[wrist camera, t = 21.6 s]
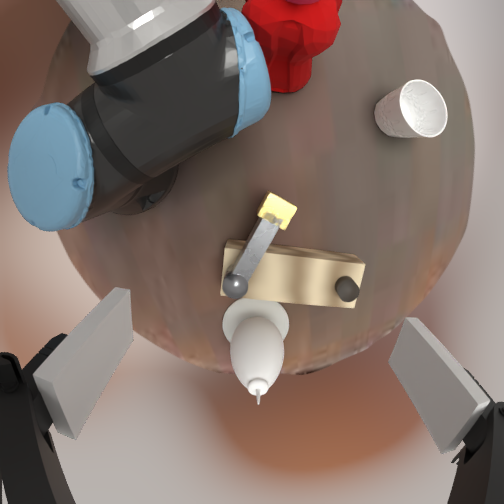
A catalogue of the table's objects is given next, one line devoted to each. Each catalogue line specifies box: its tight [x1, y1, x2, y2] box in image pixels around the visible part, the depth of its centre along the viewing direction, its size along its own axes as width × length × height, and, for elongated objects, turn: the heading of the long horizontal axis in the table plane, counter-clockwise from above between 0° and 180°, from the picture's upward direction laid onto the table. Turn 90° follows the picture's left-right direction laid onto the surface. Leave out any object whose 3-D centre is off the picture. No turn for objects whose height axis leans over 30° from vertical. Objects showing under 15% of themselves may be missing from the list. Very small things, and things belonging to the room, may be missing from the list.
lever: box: [222, 190, 297, 299], centre depth 37 cm, size 14×4×4 cm, turn 152°
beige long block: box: [220, 239, 365, 308], centre depth 42 cm, size 20×7×8 cm, turn 83°
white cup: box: [374, 80, 447, 138], centre depth 34 cm, size 8×8×10 cm
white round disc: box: [223, 298, 289, 343], centre depth 48 cm, size 11×11×1 cm
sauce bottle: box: [230, 317, 284, 405], centre depth 39 cm, size 8×8×18 cm
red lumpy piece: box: [241, 0, 342, 93], centre depth 24 cm, size 9×11×25 cm
